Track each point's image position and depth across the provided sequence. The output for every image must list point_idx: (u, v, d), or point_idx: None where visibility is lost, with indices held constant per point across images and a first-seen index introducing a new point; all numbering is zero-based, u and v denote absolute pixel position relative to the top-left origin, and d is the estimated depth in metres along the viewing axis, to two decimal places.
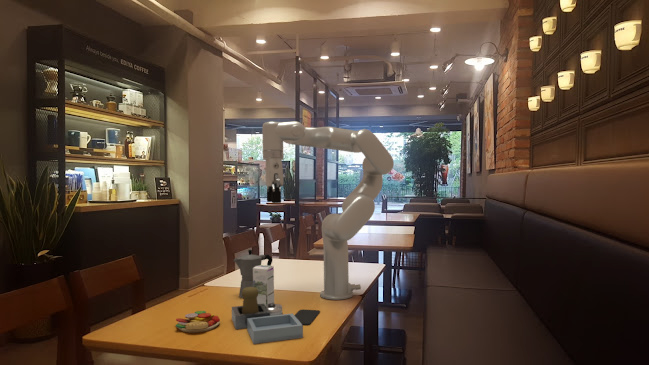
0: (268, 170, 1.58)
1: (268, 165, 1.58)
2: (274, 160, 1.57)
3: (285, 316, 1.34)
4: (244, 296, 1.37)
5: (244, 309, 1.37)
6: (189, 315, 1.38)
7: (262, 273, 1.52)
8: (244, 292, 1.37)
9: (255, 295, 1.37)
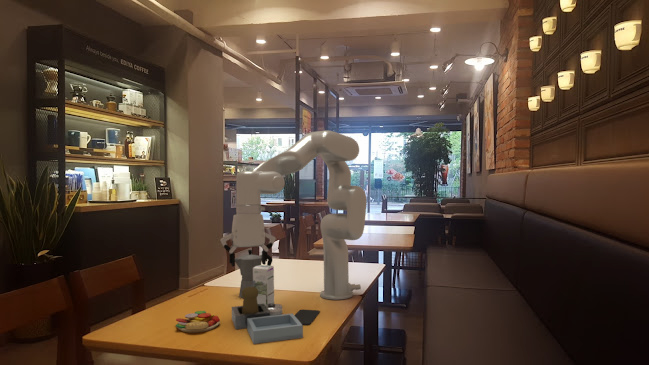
0: (260, 228, 1.38)
1: (259, 222, 1.38)
2: (262, 216, 1.40)
3: (285, 316, 1.34)
4: (244, 296, 1.37)
5: (244, 309, 1.37)
6: (189, 315, 1.38)
7: (262, 273, 1.52)
8: (244, 292, 1.37)
9: (255, 295, 1.37)
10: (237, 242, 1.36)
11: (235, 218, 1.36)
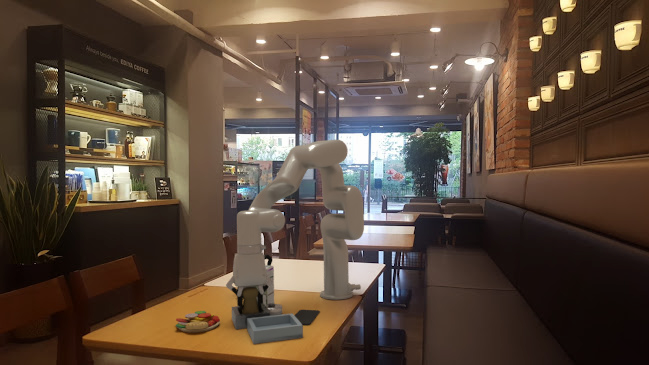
0: (261, 267, 1.38)
1: (260, 262, 1.38)
2: (263, 255, 1.40)
3: (285, 316, 1.34)
4: (244, 296, 1.37)
5: (244, 309, 1.37)
6: (189, 315, 1.38)
7: None
8: (244, 292, 1.37)
9: (255, 295, 1.37)
10: (238, 282, 1.36)
11: (236, 258, 1.36)
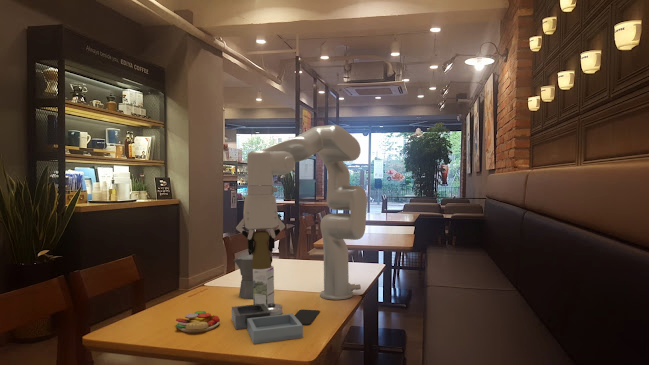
0: (272, 210, 1.32)
1: (271, 204, 1.32)
2: None
3: (285, 316, 1.34)
4: (255, 239, 1.31)
5: (255, 253, 1.32)
6: (189, 315, 1.38)
7: (262, 273, 1.52)
8: (255, 235, 1.31)
9: (266, 238, 1.32)
10: (249, 224, 1.30)
11: (247, 199, 1.31)
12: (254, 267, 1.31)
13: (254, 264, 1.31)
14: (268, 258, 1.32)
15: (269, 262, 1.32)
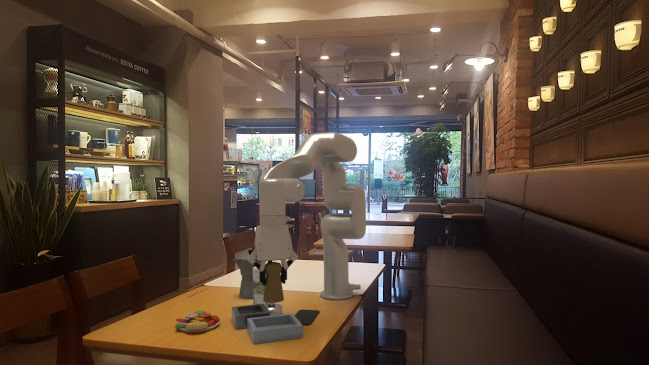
0: (285, 240, 1.27)
1: (284, 234, 1.27)
2: None
3: (285, 316, 1.34)
4: (267, 271, 1.26)
5: (267, 285, 1.26)
6: (189, 315, 1.38)
7: None
8: (267, 267, 1.26)
9: (279, 270, 1.26)
10: (261, 256, 1.25)
11: (259, 230, 1.25)
12: (266, 300, 1.26)
13: (266, 297, 1.26)
14: (281, 291, 1.27)
15: (282, 295, 1.27)
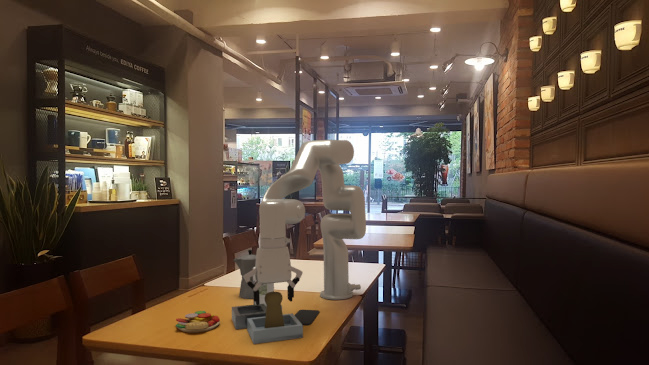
0: (286, 262, 1.27)
1: (285, 256, 1.27)
2: None
3: (285, 316, 1.34)
4: (267, 302, 1.26)
5: (268, 316, 1.27)
6: (189, 315, 1.38)
7: None
8: (267, 298, 1.26)
9: (279, 300, 1.27)
10: (262, 279, 1.25)
11: (259, 253, 1.25)
12: None
13: None
14: (282, 321, 1.27)
15: (283, 325, 1.28)
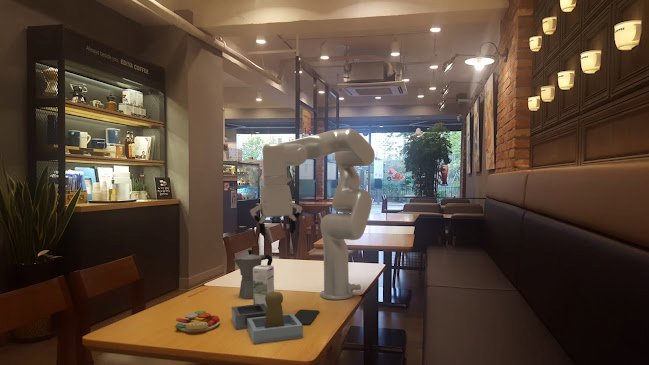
0: (287, 198, 1.43)
1: (286, 192, 1.42)
2: None
3: (285, 316, 1.34)
4: (268, 302, 1.26)
5: (268, 316, 1.27)
6: (189, 315, 1.38)
7: (262, 273, 1.52)
8: (268, 297, 1.26)
9: (280, 301, 1.27)
10: (267, 212, 1.41)
11: (264, 189, 1.41)
12: None
13: None
14: (282, 321, 1.27)
15: (283, 325, 1.28)
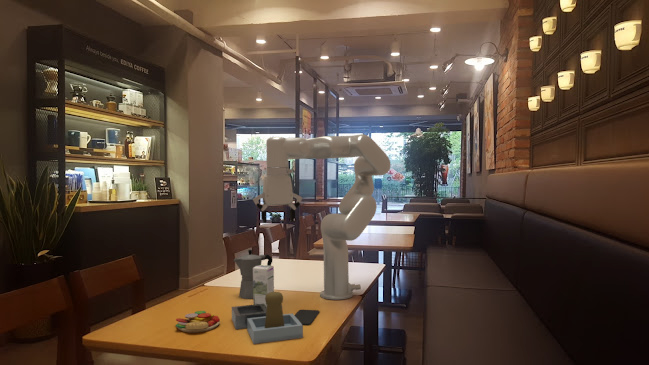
0: (288, 188, 1.53)
1: (287, 183, 1.53)
2: (290, 178, 1.55)
3: (285, 316, 1.34)
4: (268, 302, 1.26)
5: (268, 316, 1.27)
6: (189, 315, 1.38)
7: (262, 273, 1.52)
8: (268, 297, 1.26)
9: (280, 301, 1.27)
10: (268, 201, 1.51)
11: (266, 179, 1.51)
12: None
13: None
14: (282, 321, 1.27)
15: (283, 325, 1.28)
